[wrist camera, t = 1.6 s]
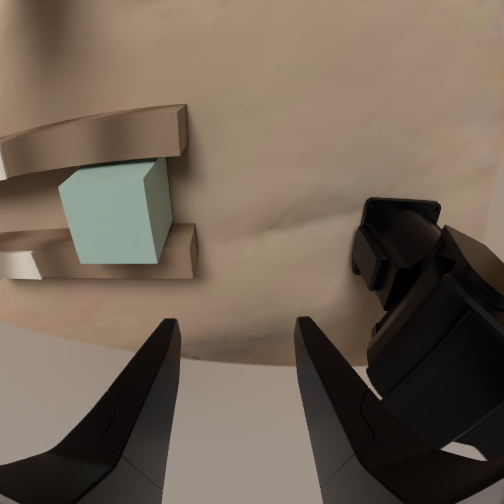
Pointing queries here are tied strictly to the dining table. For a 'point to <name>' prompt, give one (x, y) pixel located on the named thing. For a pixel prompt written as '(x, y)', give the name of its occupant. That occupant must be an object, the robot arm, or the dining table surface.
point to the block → (118, 211)
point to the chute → (89, 152)
